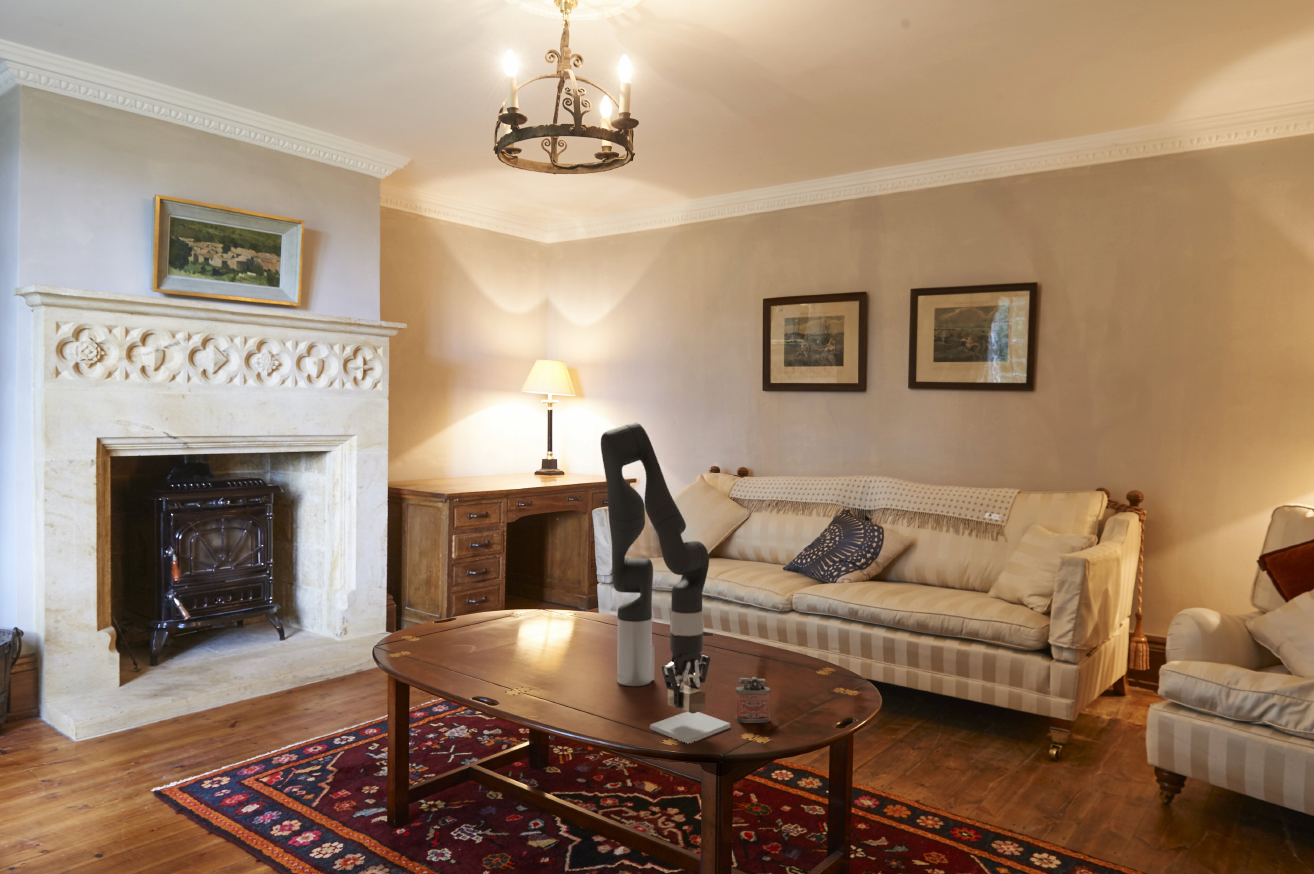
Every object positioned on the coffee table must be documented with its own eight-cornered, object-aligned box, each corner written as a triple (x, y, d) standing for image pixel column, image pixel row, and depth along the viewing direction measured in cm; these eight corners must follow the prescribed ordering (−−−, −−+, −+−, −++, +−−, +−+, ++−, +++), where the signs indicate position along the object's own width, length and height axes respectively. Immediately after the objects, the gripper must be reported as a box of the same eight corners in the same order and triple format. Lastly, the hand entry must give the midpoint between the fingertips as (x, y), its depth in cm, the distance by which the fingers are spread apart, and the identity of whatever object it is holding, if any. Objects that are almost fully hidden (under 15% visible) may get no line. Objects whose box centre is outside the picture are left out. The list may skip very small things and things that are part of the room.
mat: (692, 713, 197) (692, 709, 197) (730, 727, 188) (730, 723, 188) (649, 728, 187) (649, 724, 187) (688, 743, 178) (688, 739, 178)
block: (667, 704, 188) (667, 687, 188) (679, 700, 191) (680, 683, 191) (692, 713, 182) (693, 695, 182) (705, 709, 185) (705, 691, 185)
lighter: (768, 717, 195) (768, 675, 195) (770, 722, 192) (771, 679, 191) (734, 717, 195) (734, 675, 194) (736, 722, 191) (736, 680, 191)
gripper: (696, 621, 194) (695, 694, 194) (652, 632, 184) (652, 708, 184) (719, 627, 189) (719, 702, 189) (676, 638, 179) (675, 716, 179)
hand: (686, 704), depth 187 cm, fingers closed on block, 4 cm apart
